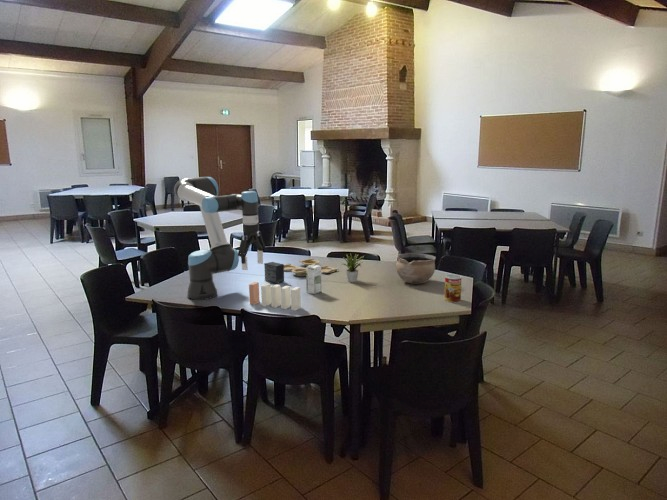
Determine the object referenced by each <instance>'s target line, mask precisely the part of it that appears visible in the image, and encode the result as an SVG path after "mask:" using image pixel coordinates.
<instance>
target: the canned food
mask: <svg viewBox="0 0 667 500" xmlns="http://www.w3.org/2000/svg"><path fill="white" fill-rule="evenodd" d="M444 299H445V300H446V302H447V301H448V303H452V302H456V303H460V302H461V299H462V276H461V275H457V274H447V275H445V276H444ZM445 300H444V301H445ZM459 301H460V302H459Z"/></svg>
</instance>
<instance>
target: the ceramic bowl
mask: <svg viewBox="0 0 667 500" xmlns="http://www.w3.org/2000/svg"><path fill="white" fill-rule="evenodd" d="M396 259H397V260H396V264H395V270H396V273H397V274H398V276H399V278H400V279H401V280H402V281H403V282H405V283H407V284H411V285H421V284H424V283H427V281H429V280H430V279H432V277H433V276H434V274H435V271H436V264H435V263H436V262H435V261H436V259H437V257H436V256H434V255H432V254H427V253H421V252H419V253H418V252H417V253H416V252H414V253H413V252H411V253H410V252H405V253H399V254H397V255H396Z"/></svg>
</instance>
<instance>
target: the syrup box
mask: <svg viewBox="0 0 667 500" xmlns="http://www.w3.org/2000/svg"><path fill="white" fill-rule="evenodd" d="M321 266H322V265H320V264H317V265H315V264H313V265H310V266H307V267H306V266H305V268H306V276H305V277H306V282H305V283H306V293H308V294H312V295H316V294H319V293H322V273H321Z"/></svg>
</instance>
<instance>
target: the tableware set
mask: <svg viewBox="0 0 667 500" xmlns="http://www.w3.org/2000/svg"><path fill="white" fill-rule="evenodd" d="M298 262H299V263H301V264H302V265H305V267H302V266H301V267H300V266H298V265H293V264H292V263H286V264H284V272H292V273H293V274H295V276H297V277H304V276H305V277H306V266H310V265H313V264H315V265H320V261H319V260H316V259H315V258H314V257H312V258H306V259H301V260H298ZM320 266H321V274H331V273H334V272H336V271H337V270H339V267H331V266H329V265H320Z"/></svg>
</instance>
